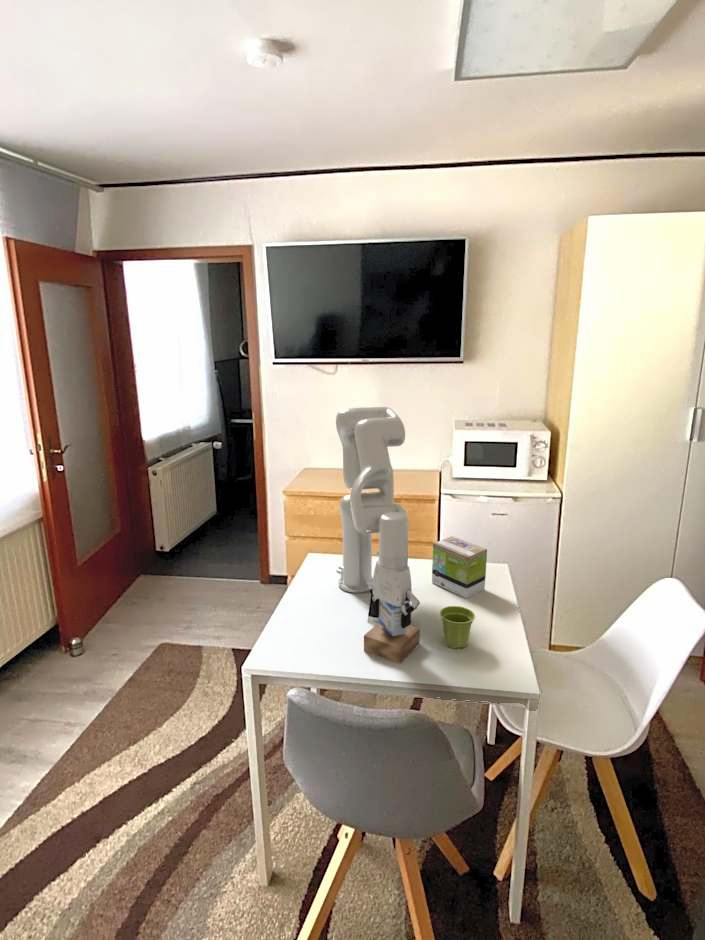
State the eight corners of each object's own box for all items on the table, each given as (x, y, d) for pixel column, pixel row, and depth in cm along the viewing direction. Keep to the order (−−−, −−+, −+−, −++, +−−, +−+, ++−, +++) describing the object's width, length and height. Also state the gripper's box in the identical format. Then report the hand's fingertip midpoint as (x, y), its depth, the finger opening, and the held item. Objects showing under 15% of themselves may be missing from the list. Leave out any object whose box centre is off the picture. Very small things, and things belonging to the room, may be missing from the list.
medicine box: (378, 623, 156) (378, 594, 154) (392, 619, 158) (393, 590, 156) (392, 637, 149) (393, 607, 147) (407, 633, 151) (408, 603, 149)
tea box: (430, 583, 192) (431, 542, 189) (450, 575, 199) (451, 535, 195) (466, 599, 181) (468, 556, 177) (485, 590, 187) (488, 547, 184)
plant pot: (446, 630, 163) (447, 602, 161) (478, 639, 158) (479, 611, 156) (433, 645, 155) (434, 617, 153) (466, 655, 151) (468, 626, 149)
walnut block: (363, 652, 153) (363, 635, 152) (384, 633, 162) (384, 617, 161) (400, 665, 147) (400, 647, 146) (419, 645, 156) (419, 628, 155)
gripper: (358, 554, 152) (358, 613, 156) (410, 574, 140) (408, 637, 144) (377, 546, 157) (377, 604, 161) (428, 565, 145) (426, 626, 150)
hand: (392, 619), depth 153 cm, fingers closed on medicine box, 9 cm apart
